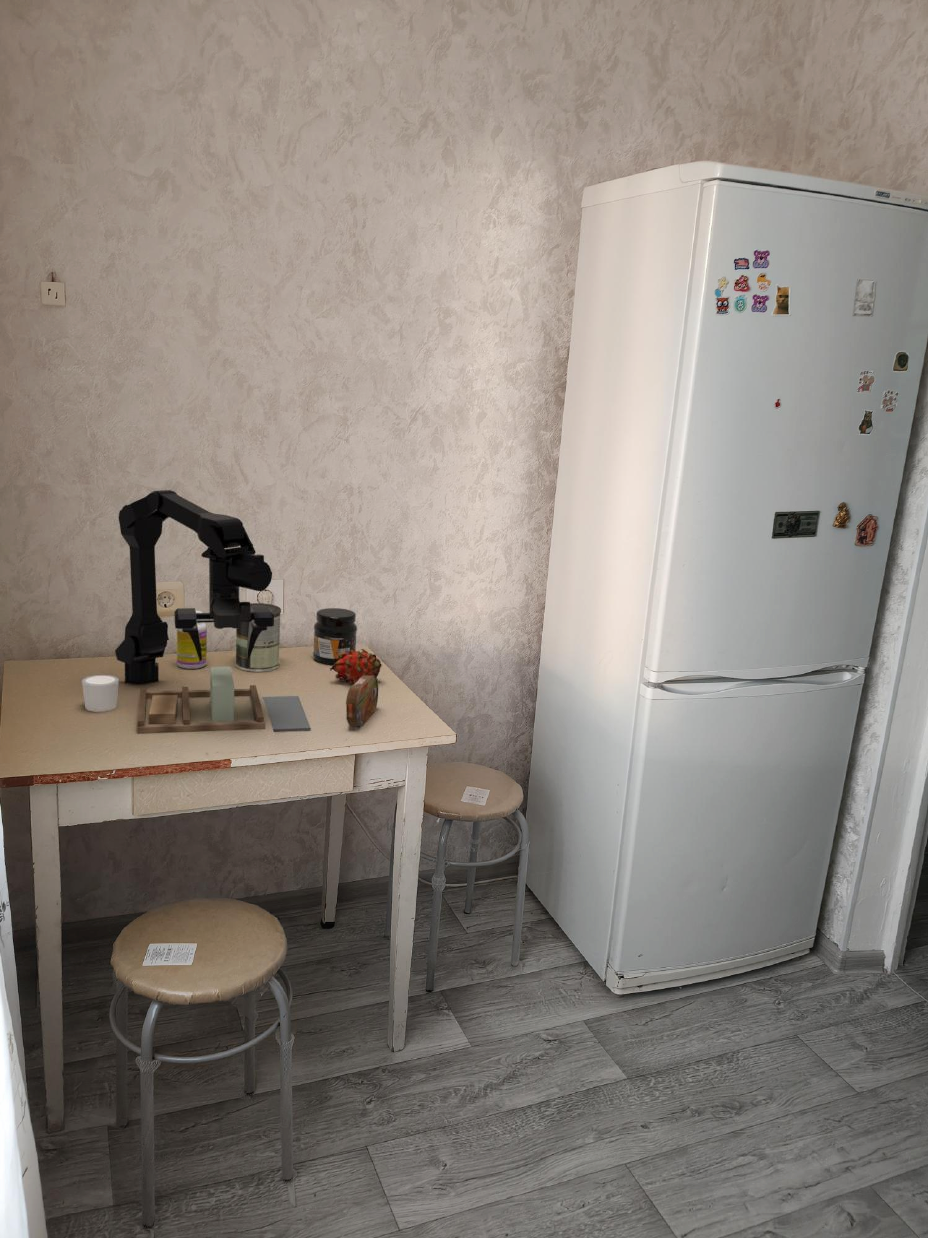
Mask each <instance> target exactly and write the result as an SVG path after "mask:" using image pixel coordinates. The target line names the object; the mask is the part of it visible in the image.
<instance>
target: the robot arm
mask: <svg viewBox="0 0 928 1238" xmlns="http://www.w3.org/2000/svg"><path fill="white" fill-rule="evenodd" d="M167 519H171V520H174V521H176V522H178V523H179V524H181V525H183V526H185V527H186V528H189V529H190V530H192V531H193V532H195V533H196V534H197V535H196V536H197V537H198V540H199V541H200V542H201V543H202V544H203V545H205V546H206V547H207V549H205V550H204V551H203V552H202V553H201V555H200V556H201V557H202V558H204V559H208V576H209V577H208V581H209V582H208V585H209V586H208V588H209V589H208V593H209V594H208V596H209V597H208V599H209V601H208V602H209V603H208V604H209V606H208V607H209V609H208V610H209V612H202V613H196V610H197V609H196V608H195V607H194V608H193V607H191V608H190V607H189V608H187V607H185V608H181V607H180V608H176V609H175V611H174V615H173V618H174V627H175V629H176V630H177V629H182V632H185V633H188V634H189V635H190V637H191V639H192V641H193V643H194V646H195V649H196V651H197V654H198V657H199V660H200V661H202V652H201V646H200V639H199V632H198V627H197V623H205V624H206V623H213V627H214V628H215V629H217V630H223V629H227V628H229V629H233V630H235V629H236V628H239V627H240V622H249V632H248V642H247V659H250V656H251V653H252V650H253V647H254V645H255V642H256V640H257V638H258V636H259V634H260V633H261V632H262V631H265V630H267V627H272V626H274V614H273V612H272V610H271V609H270V608H269V607H251V611H250V603H251V602H250V601H240V588H242V589H248V590H251V591H257V592H263V591H265V590H266V589H267V588H268V587H270V586H269V585H270V584H271V583H272V579H273V571H272V570H271V569H272V568H271V567H270V565H269V563H267V562H266V561H265V556H264V555H263V554H260V553H259V554H256V549H255V547H254V544H253V542H252V541H251V539H250V537H249V535H248V533H247V531H246V528H245V527H244V524H243V522H242V520H240V519H239V517H238V518H237V517H233V516H230V515H228V514H221V513H213V512H211V511H209V510H207V509H205V508H203V507H201V506H199V505H197V504H196V503H193V502H191V501H190V500H188V499H186V498H185V497H182V496H181V495H179V494H177V492H176V491H174V490H170V489H163V490H153V491H152V492H150V493H148V494H147V495H146V496H144V497H142V498H140V499H137V500H135V501H133V502H131V503H129V504H125V505H124V506H122V508H121V509H120V510H119V512H118V523H119V529H120V535H121V536H122V538H123V539H124V540H125V542H126V544H127V545H128V546H129V565H130V586H131V588H130V590H131V608H132V609H131V612H132V614H131V616H130V618H129V620H128V621H127V623H126V625H125V627H124V639H123V641H121V642H120V644H119V645H118V646H117V647H116V648H115V650H114V651H115V657H116V660H117V661H119V662H122V663H124V683H125V684H131V685H148V684H152V683H159V679H160V677H159V675H160V674H159V663H158V662H156V659H158V658H163V657H164V654H165V650H166V648H167V644H168V641H170V637H169V634H168V632H169V630H168V629H169V624H168V622H167V621H163V620H162V618H161V617H160V616H159V614H158V604H157V603H158V602H157V601H158V599H157V596H158V595H157V577H156V576H157V573H156V572H157V571H156V552H155V551H156V550H155V549H156V545H157V543H158V541H159V539H160V537H161V535H162V534H163V523H164V522H166V520H167Z"/></svg>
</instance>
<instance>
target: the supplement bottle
mask: <svg viewBox="0 0 928 1238" xmlns="http://www.w3.org/2000/svg"><path fill="white" fill-rule="evenodd" d="M195 610H196V613H203V611H201V610H197V609H195ZM197 627H198V632H199V639H200V646H201V652H202V661H200V660H199V657H198V654H197V651H196V649H195V646H194V643H193V641H192V639H191V637H190V635H189V634H188V633H185V632H182V629H177V628H176V664H177V666H178V667H180V668H182V669H188V670H195V669H201V668H204V667H205V666H206V665H207V653H208V652H207V645H208V644H207V643H208V642H207V641H208V639H207V637H208V636H207V635H208V632H207V631H208V630H207V629H208V627H207V625H206V623H197Z"/></svg>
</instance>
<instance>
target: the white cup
mask: <svg viewBox="0 0 928 1238" xmlns="http://www.w3.org/2000/svg"><path fill="white" fill-rule="evenodd" d="M119 681H120V679H119V677H117V676H114V675H109V674H97V675H96V674H95V675H90V676H86V677H84V678H82V680H81V685H82V693H83V700H84V708H85V710H87V711H90V712H95V713H104V712H110V711H112V710H115V709H116V708H117V705H118V695H119V694H118V693H119Z"/></svg>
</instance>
